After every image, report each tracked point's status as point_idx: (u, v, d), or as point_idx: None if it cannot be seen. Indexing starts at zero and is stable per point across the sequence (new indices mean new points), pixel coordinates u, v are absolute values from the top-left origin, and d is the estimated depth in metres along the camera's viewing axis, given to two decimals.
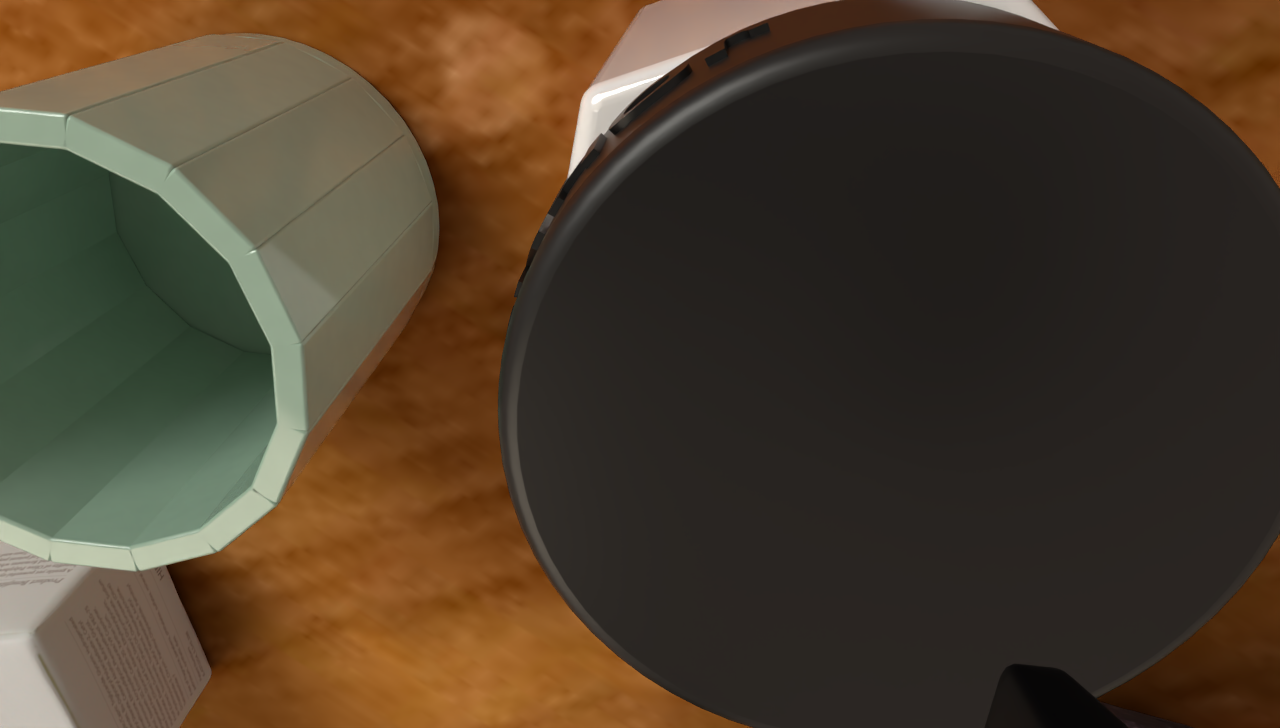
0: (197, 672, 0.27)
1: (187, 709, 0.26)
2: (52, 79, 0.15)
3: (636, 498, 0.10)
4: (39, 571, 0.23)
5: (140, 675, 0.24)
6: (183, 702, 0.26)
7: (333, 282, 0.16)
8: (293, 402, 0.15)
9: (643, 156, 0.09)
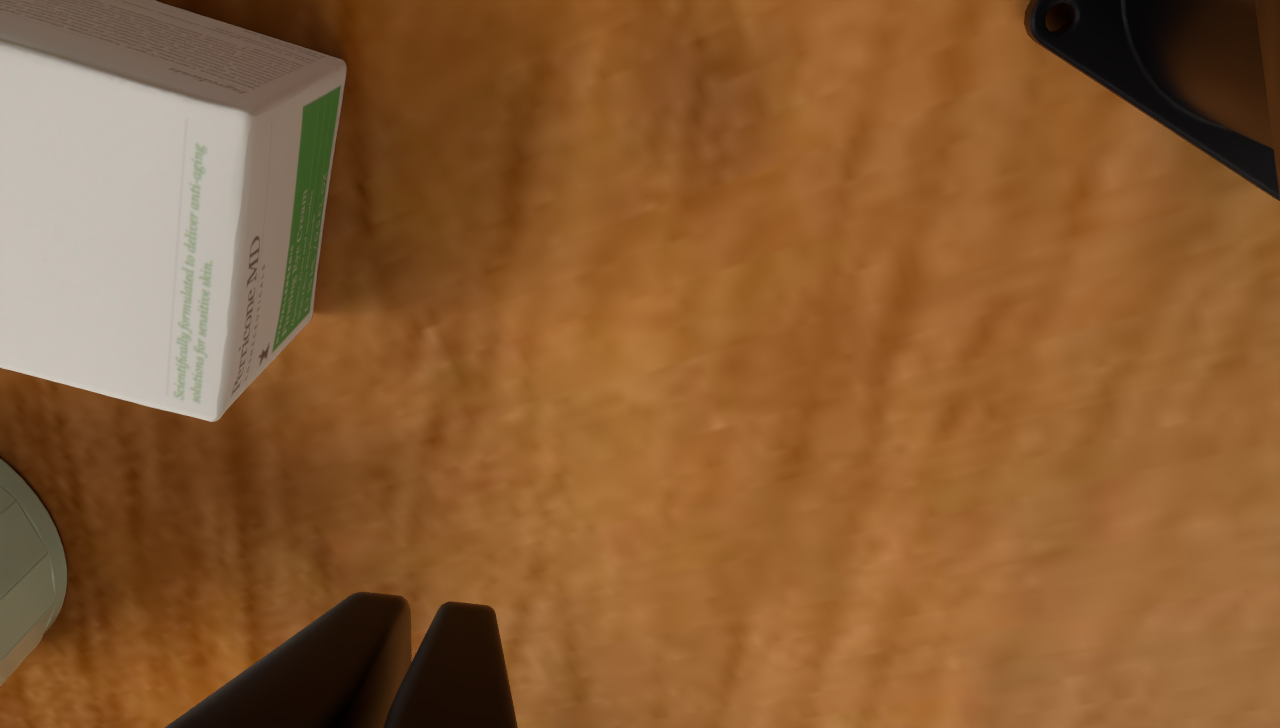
0: (304, 53, 0.18)
1: (313, 70, 0.17)
2: None
3: None
4: None
5: (164, 37, 0.16)
6: (296, 64, 0.17)
7: None
8: None
9: None
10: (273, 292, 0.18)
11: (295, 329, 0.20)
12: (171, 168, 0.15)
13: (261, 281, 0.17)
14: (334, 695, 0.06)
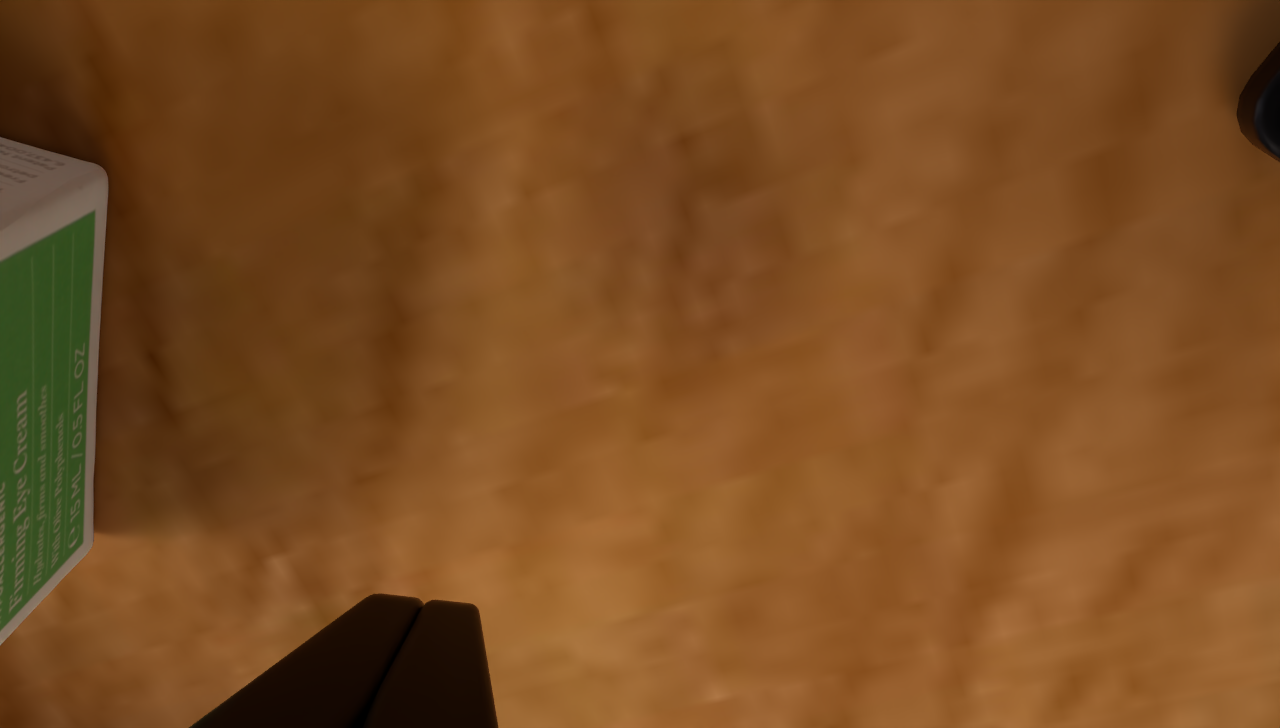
0: (25, 160, 0.11)
1: (21, 197, 0.10)
2: None
3: None
4: None
5: None
6: None
7: None
8: None
9: None
10: None
11: (48, 582, 0.13)
12: None
13: None
14: (354, 697, 0.06)
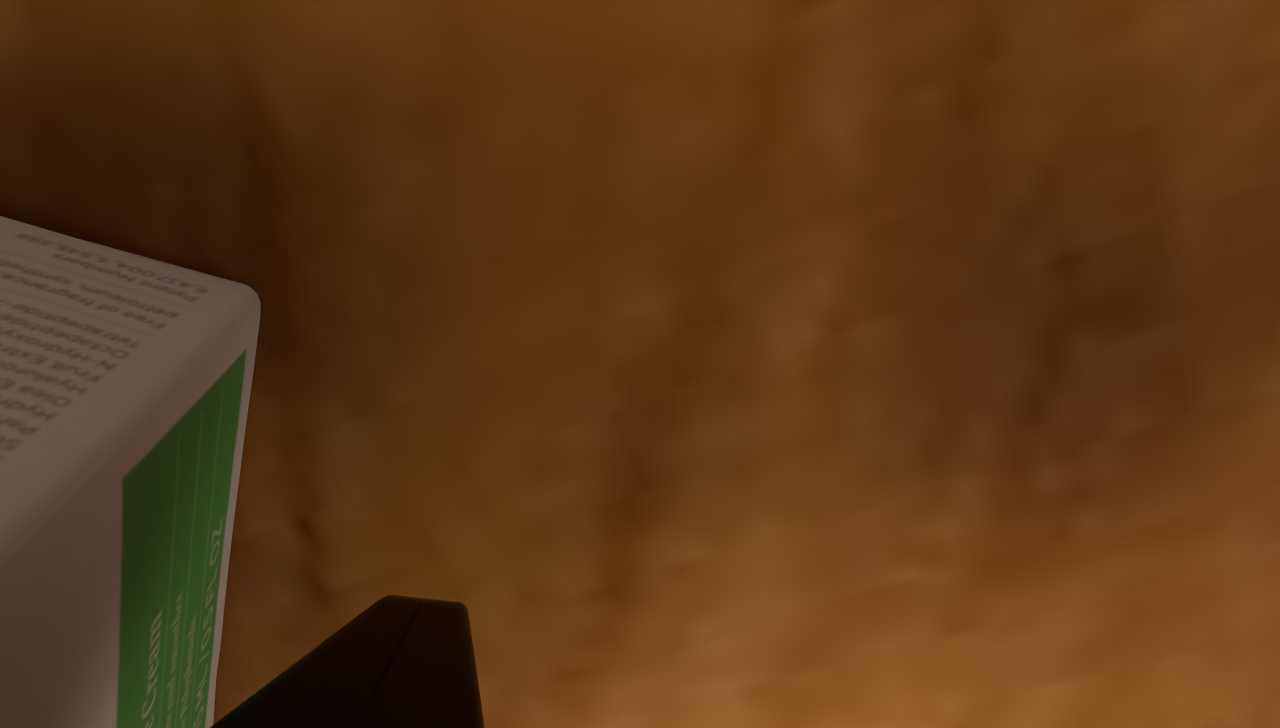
0: (157, 288, 0.08)
1: (164, 354, 0.07)
2: None
3: None
4: None
5: None
6: (120, 343, 0.07)
7: None
8: None
9: None
10: None
11: None
12: None
13: None
14: (371, 700, 0.06)
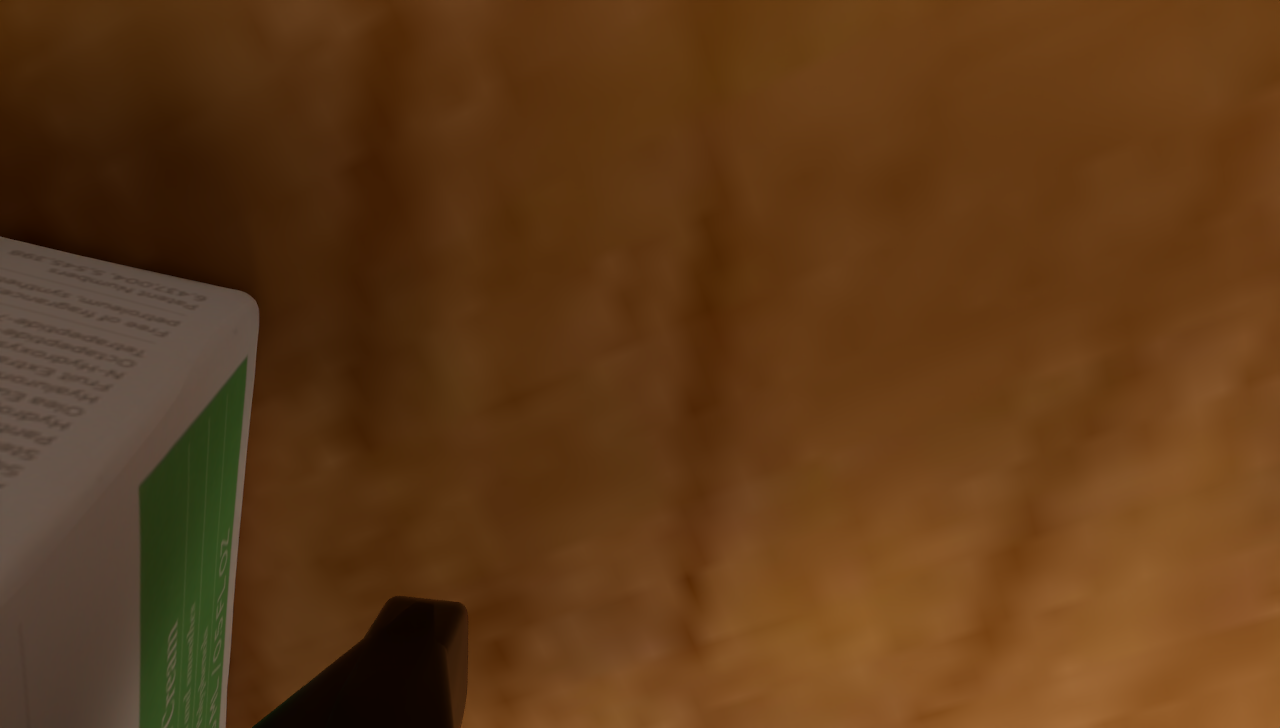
0: (156, 298, 0.08)
1: (171, 361, 0.07)
2: None
3: None
4: None
5: None
6: (126, 352, 0.07)
7: None
8: None
9: None
10: None
11: None
12: None
13: None
14: (405, 703, 0.06)
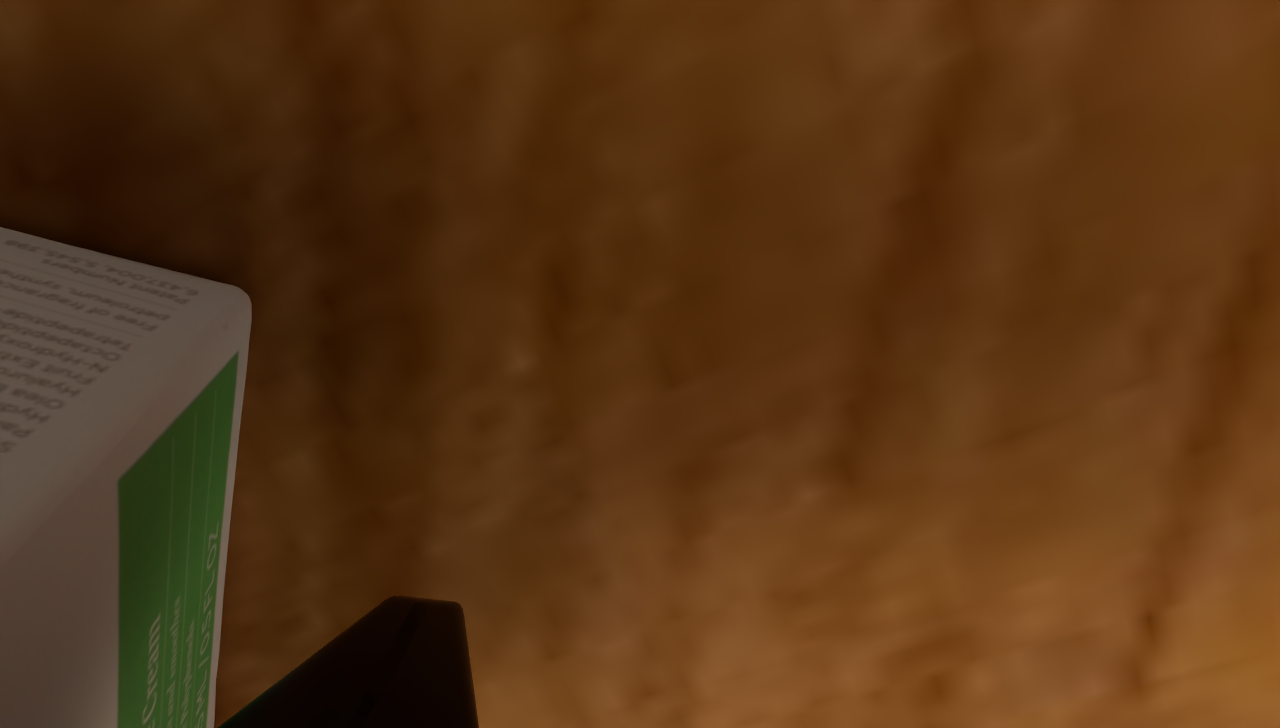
0: (147, 291, 0.08)
1: (157, 355, 0.07)
2: None
3: None
4: None
5: None
6: (112, 345, 0.07)
7: None
8: None
9: None
10: None
11: None
12: None
13: None
14: (377, 700, 0.06)
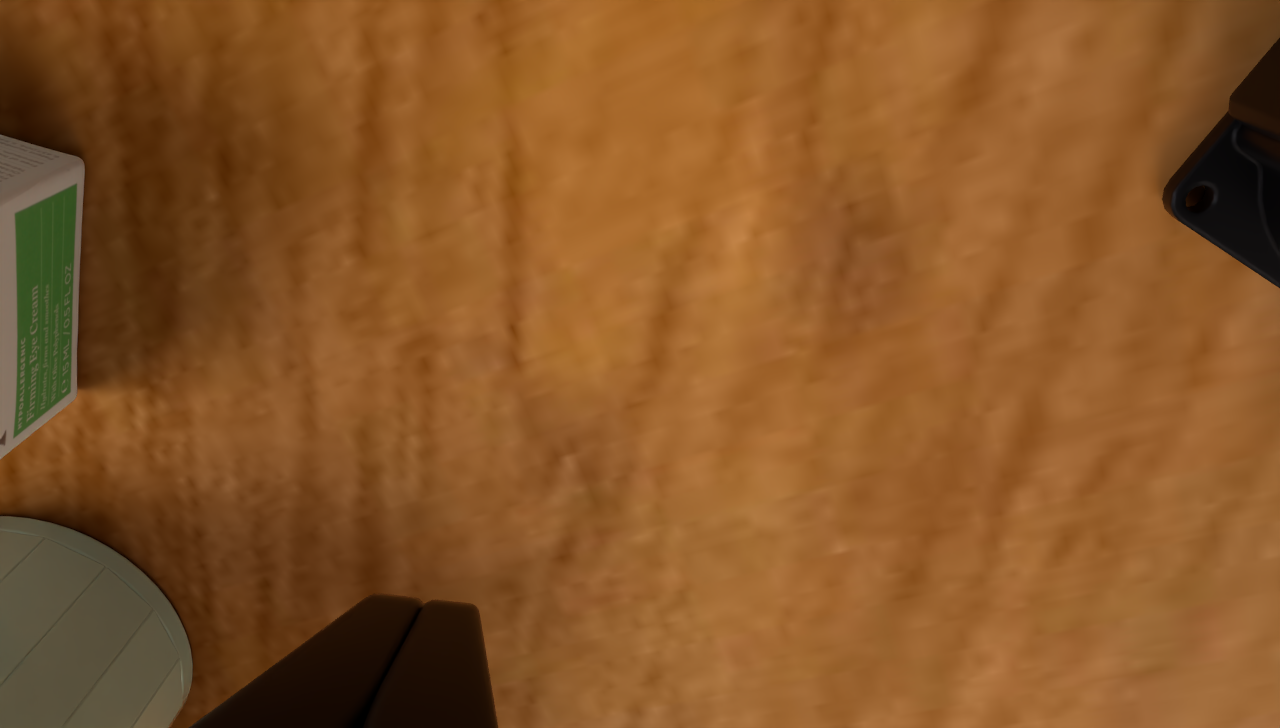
0: (36, 154, 0.19)
1: (35, 174, 0.18)
2: None
3: None
4: None
5: None
6: (17, 169, 0.18)
7: None
8: None
9: None
10: (0, 385, 0.19)
11: (49, 411, 0.21)
12: None
13: None
14: (354, 697, 0.06)
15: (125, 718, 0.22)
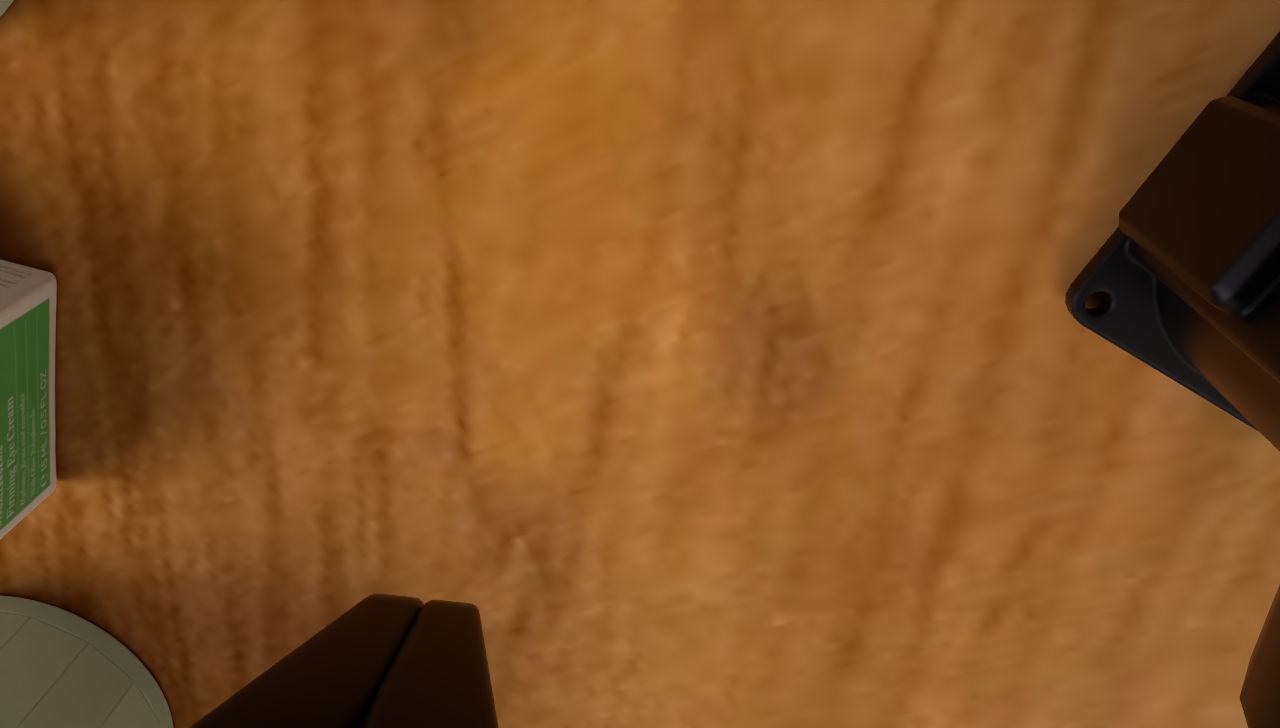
0: (10, 273, 0.20)
1: (7, 296, 0.20)
2: None
3: None
4: None
5: None
6: None
7: None
8: None
9: None
10: None
11: (29, 505, 0.22)
12: None
13: None
14: (354, 697, 0.06)
15: None
